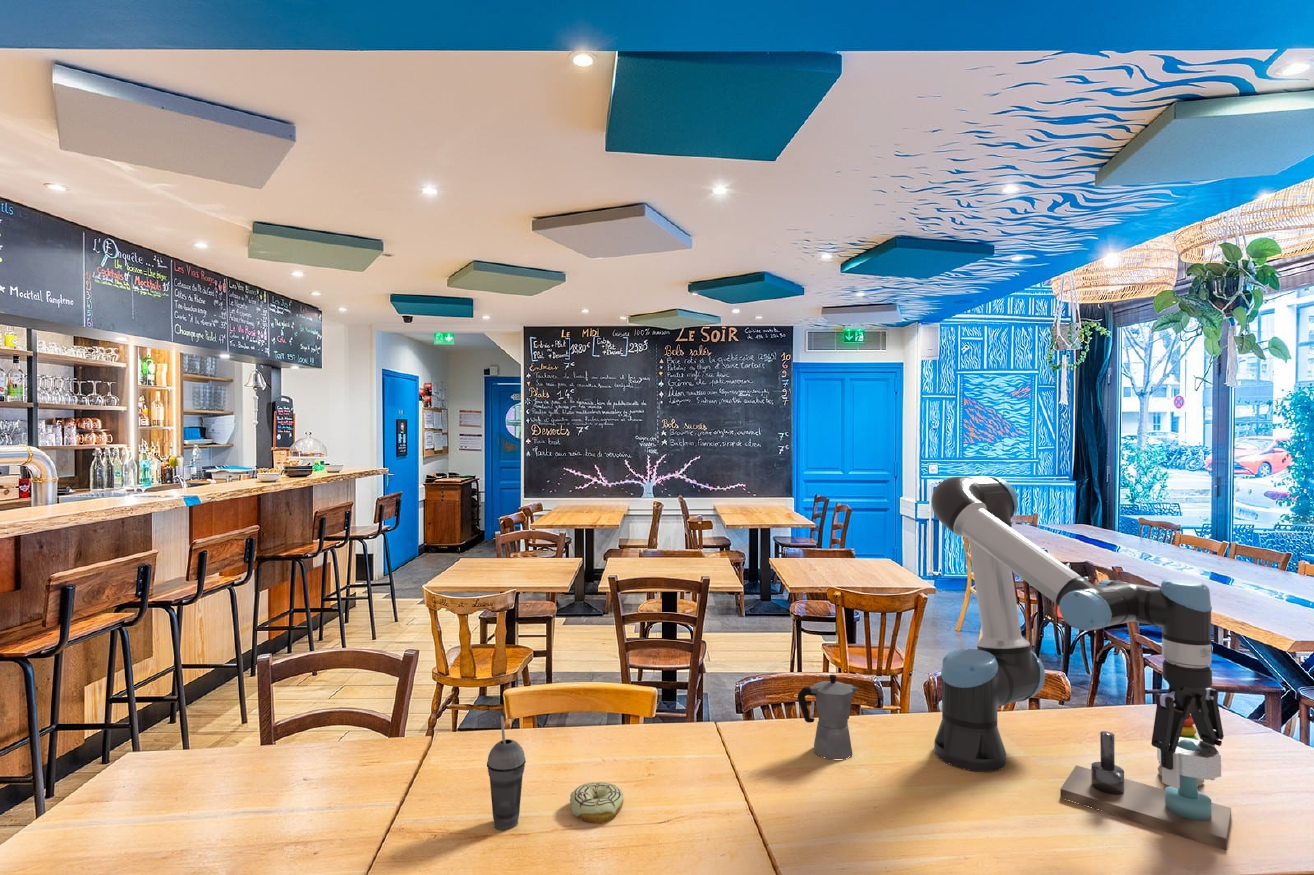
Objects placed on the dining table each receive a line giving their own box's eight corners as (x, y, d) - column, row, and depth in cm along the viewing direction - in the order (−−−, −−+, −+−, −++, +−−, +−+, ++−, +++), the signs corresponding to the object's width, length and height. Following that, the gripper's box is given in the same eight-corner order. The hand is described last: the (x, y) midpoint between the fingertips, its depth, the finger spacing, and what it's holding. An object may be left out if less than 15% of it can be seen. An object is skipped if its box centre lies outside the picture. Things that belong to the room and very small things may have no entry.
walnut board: (1060, 798, 139) (1060, 788, 139) (1076, 774, 150) (1076, 765, 150) (1226, 850, 122) (1226, 838, 122) (1231, 818, 132) (1231, 808, 132)
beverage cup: (506, 838, 125) (506, 728, 125) (478, 827, 129) (478, 720, 129) (533, 820, 131) (533, 715, 131) (505, 809, 135) (506, 707, 135)
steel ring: (1147, 761, 134) (1147, 740, 134) (1180, 754, 137) (1179, 733, 137) (1197, 782, 125) (1197, 760, 125) (1230, 774, 128) (1230, 752, 128)
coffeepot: (848, 740, 167) (848, 666, 167) (869, 758, 157) (868, 679, 158) (789, 746, 163) (789, 671, 163) (806, 765, 154) (806, 684, 154)
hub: (1162, 811, 131) (1162, 740, 131) (1167, 797, 136) (1167, 729, 136) (1209, 825, 126) (1209, 751, 126) (1213, 810, 131) (1212, 739, 131)
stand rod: (1088, 788, 140) (1088, 734, 140) (1094, 778, 144) (1094, 725, 144) (1121, 797, 136) (1121, 742, 136) (1126, 787, 140) (1126, 733, 140)
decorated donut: (568, 827, 129) (568, 807, 129) (571, 798, 140) (571, 779, 140) (623, 825, 130) (623, 805, 130) (622, 796, 141) (622, 777, 141)
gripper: (1167, 674, 124) (1169, 800, 124) (1246, 662, 131) (1248, 781, 131) (1126, 662, 131) (1128, 781, 131) (1204, 651, 138) (1206, 763, 138)
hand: (1188, 781), depth 131 cm, fingers closed on steel ring, 9 cm apart
